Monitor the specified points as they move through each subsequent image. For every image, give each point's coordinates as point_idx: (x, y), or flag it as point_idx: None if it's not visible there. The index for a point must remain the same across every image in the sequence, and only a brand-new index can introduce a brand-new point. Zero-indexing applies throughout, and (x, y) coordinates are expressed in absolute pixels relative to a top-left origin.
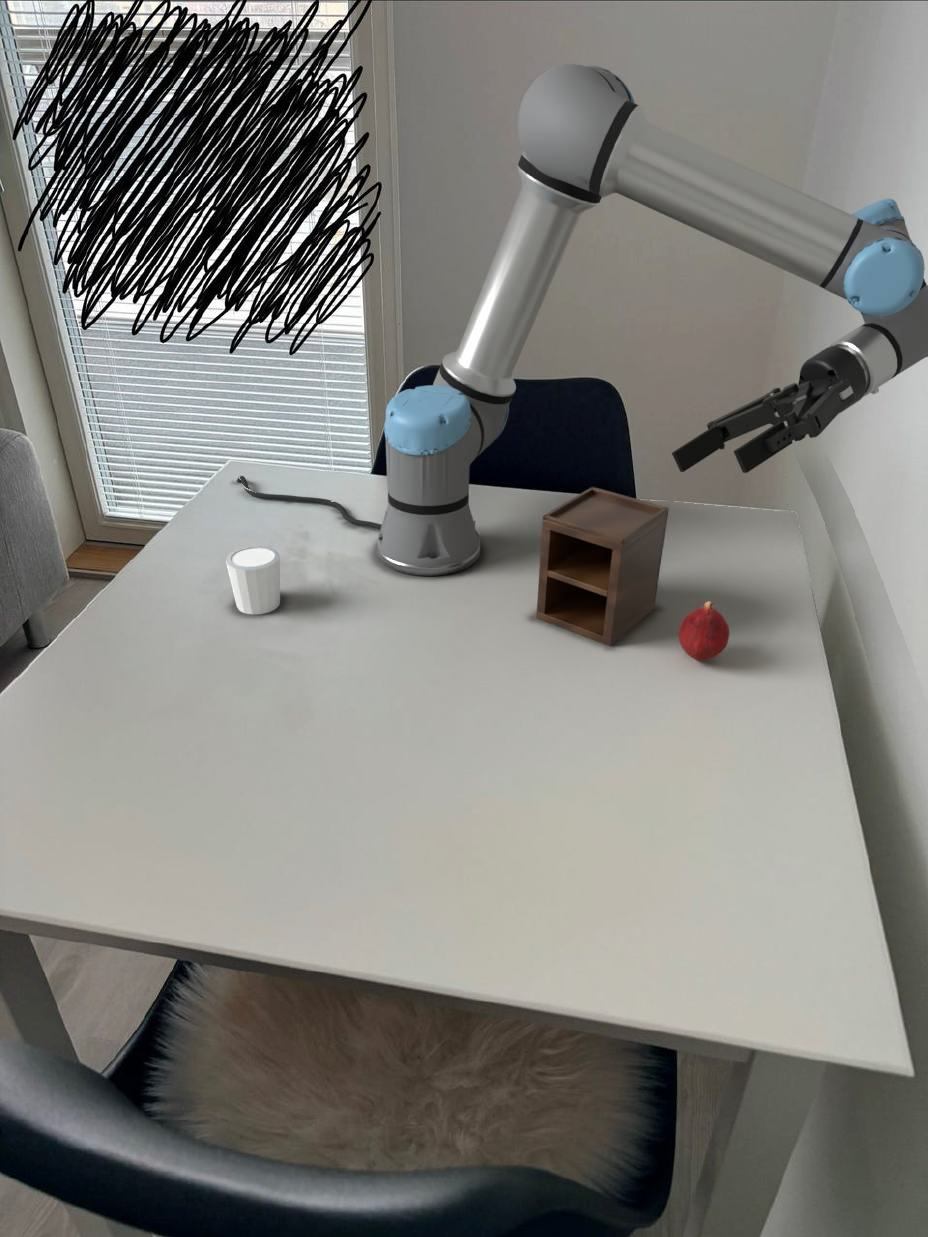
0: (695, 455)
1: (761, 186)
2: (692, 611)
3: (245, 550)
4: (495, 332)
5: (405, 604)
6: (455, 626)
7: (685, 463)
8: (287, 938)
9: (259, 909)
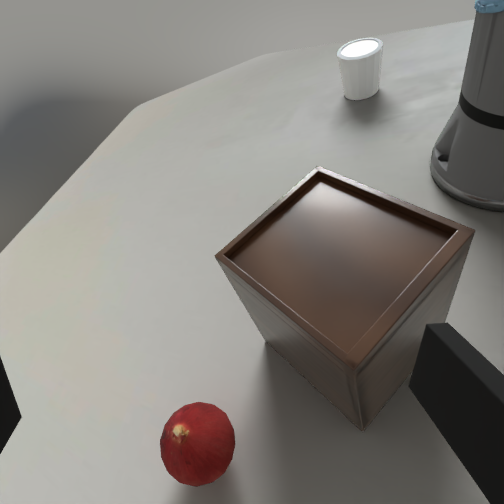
0: (461, 426)
1: None
2: (203, 416)
3: (373, 41)
4: None
5: (364, 165)
6: None
7: (425, 385)
8: (79, 173)
9: (97, 162)
